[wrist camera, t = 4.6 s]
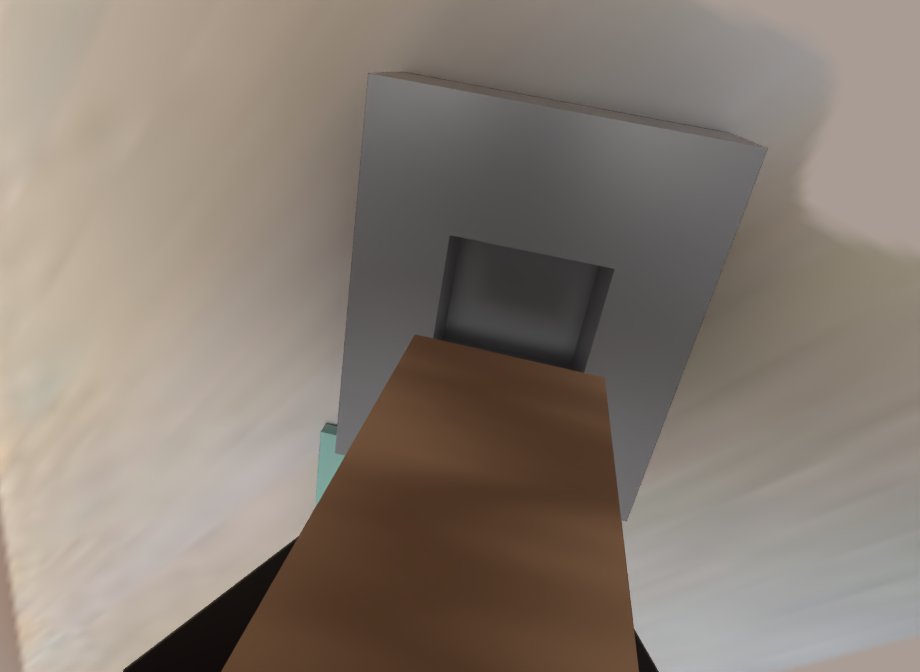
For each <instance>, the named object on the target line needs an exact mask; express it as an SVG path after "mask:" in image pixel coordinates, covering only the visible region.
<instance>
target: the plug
mask: <svg viewBox="0 0 920 672" xmlns="http://www.w3.org/2000/svg"><path fill="white" fill-rule="evenodd" d="M221 672H639V668H638V660H637V651H636V643H635V634H634V625H633V617H632V608H631V600H630V591H629V582H628V574H627V565H626V557H625V548H624V539H623V531H622V522H621V514H620V505H619V496H618V488H617V479H616V470H615V462H614V453H613V445H612V436H611V427H610V419H609V410H608V402H607V393H606V384H605V378H604V377H599V376H595V375H591V374H586V373H582V372H578V371H573V370H569V369H564V368H560V367H556V366H551V365H547V364H543V363H538V362H534V361H530V360H525V359H521V358H516V357H512V356H508V355H503V354H499V353H495V352H490V351H486V350H481V349H477V348H473V347H468V346H464V345H460V344H455V343H451V342H447V341H442V340H438V339H433V338H429V337H425V336H420V335H416V334H415V335H414V337H413V338H412V340H411V342H410V344H409V345H408V347H407V349H406V351H405V352H404V354H403V356H402V358H401V359H400V361H399V363H398V365H397V366H396V368H395V370H394V371H393V373H392V375H391V377H390V378H389V380H388V382H387V384H386V385H385V387H384V389H383V391H382V392H381V394H380V396H379V398H378V399H377V401H376V403H375V405H374V406H373V408H372V410H371V412H370V413H369V415H368V417H367V419H366V420H365V422H364V424H363V425H362V427H361V429H360V431H359V432H358V434H357V436H356V438H355V439H354V441H353V443H352V445H351V446H350V448H349V450H348V452H347V453H346V455H345V457H344V459H343V460H342V462H341V464H340V466H339V467H338V469H337V471H336V473H335V474H334V476H333V478H332V479H331V481H330V483H329V485H328V486H327V488H326V490H325V492H324V493H323V495H322V497H321V499H320V500H319V502H318V504H317V506H316V507H315V509H314V511H313V513H312V514H311V516H310V518H309V520H308V521H307V523H306V525H305V527H304V528H303V530H302V532H301V533H300V535H299V537H298V539H297V540H296V542H295V544H294V546H293V547H292V549H291V551H290V553H289V554H288V556H287V558H286V560H285V561H284V563H283V565H282V567H281V568H280V570H279V572H278V574H277V575H276V577H275V579H274V580H273V582H272V584H271V586H270V587H269V589H268V591H267V593H266V594H265V596H264V598H263V600H262V601H261V603H260V605H259V607H258V608H257V610H256V612H255V614H254V615H253V617H252V619H251V621H250V622H249V624H248V626H247V628H246V629H245V631H244V633H243V634H242V636H241V638H240V640H239V641H238V643H237V645H236V647H235V648H234V650H233V652H232V654H231V655H230V657H229V659H228V661H227V662H226V664H225V666H224V668H223V669H222V671H221Z"/></svg>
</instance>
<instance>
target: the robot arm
mask: <svg viewBox="0 0 920 672" xmlns="http://www.w3.org/2000/svg"><path fill="white" fill-rule="evenodd" d="M298 537H299V536H298ZM298 537H297V538H296V539H294V540H293V541H292V542H290V543H289V544H288V545H286V546H285V547H284V548H282V549H281V550H280V551H279V552H277V553H276V554H275V555H273V556H272V557H271V558H269V559H268V560H267V561H265V562H264V563H263V564H261V565H260V566H259V567H258V568H256V569H255V570H254V571H252V572H251V573H250V574H248V575H247V576H246V577H244V578H243V579H242V580H240V581H239V582H238V583H237V584H235V585H234V586H233V587H231V588H230V589H229V590H227V591H226V592H225V593H223V594H222V595H221V596H219V597H218V598H217V599H215V600H214V601H213V602H212V603H210V604H209V605H208V606H206V607H205V608H204V609H202V610H201V611H200V612H198V613H197V614H196V615H194V616H193V617H192V618H191V619H189V620H188V621H187V622H185V623H184V624H183V625H181V626H180V627H179V628H177V629H176V630H175V631H173V632H172V633H171V634H170V635H168V636H167V637H166V638H164V639H163V640H162V641H160V642H159V643H158V644H156V645H155V646H154V647H152V648H151V649H150V650H149V651H147V652H146V653H145V654H143V655H142V656H141V657H139V658H138V659H137V660H135V661H134V662H133V663H131V664H130V665H129V666H127V667H126V668H125V669H124V670H123V672H221V671H222V669H223V668H224V666H225V664H226V662H227V661H228V659H229V657H230V655H231V654H232V652H233V650H234V648H235V647H236V645H237V643H238V641H239V640H240V638H241V636H242V634H243V633H244V631H245V629H246V628H247V626H248V624H249V622H250V621H251V619H252V617H253V615H254V614H255V612H256V610H257V608H258V607H259V605H260V603H261V601H262V600H263V598H264V596H265V594H266V593H267V591H268V589H269V587H270V586H271V584H272V582H273V580H274V579H275V577H276V575H277V574H278V572H279V570H280V568H281V567H282V565H283V563H284V561H285V560H286V558H287V556H288V554H289V553H290V551H291V549H292V547H293V546H294V544H295V542H296V540H297V539H298ZM634 634H635V643H636V651H637V660H638V668H639V672H659V671H658V670H657V668H656V666H655V664H654V663H653V661H652V659H651V657H650V656H649V654H648V652H647V650H646V649H645V647H644V645H643V643H642V642H641V640H640V638H639V636H638V635H637V633H636V631H635V629H634Z"/></svg>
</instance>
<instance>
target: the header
mask: <svg viewBox="0 0 920 672" xmlns="http://www.w3.org/2000/svg"><path fill="white" fill-rule="evenodd" d="M767 150H768V148H766V147H763V146H761V145H758V144H756V143H753V142H751V141H749V140H746V139H744V138H741V137H739V136H736V135H734V134H731V133H727V132H722V131H716V130H711V129H706V128H700V127H695V126H690V125H684V124H679V123H673V122H668V121H663V120H657V119H652V118H647V117H641V116H636V115H631V114H625V113H620V112H615V111H609V110H604V109H599V108H593V107H588V106H583V105H577V104H572V103H567V102H561V101H556V100H551V99H545V98H540V97H535V96H529V95H524V94H519V93H513V92H508V91H502V90H497V89H492V88H486V87H481V86H476V85H470V84H465V83H460V82H454V81H449V80H444V79H438V78H433V77H428V76H422V75H417V74H412V73H406V72H383V73H368V81H367V92H366V104H365V115H364V127H363V138H362V149H361V161H360V172H359V184H358V195H357V206H356V218H355V229H354V241H353V252H352V263H351V275H350V286H349V298H348V309H347V320H346V332H345V343H344V355H343V366H342V377H341V389H340V400H339V412H338V423H337V435H336V446H335V453H336V454H340V455H346V453H347V452H348V450H349V448H350V446H351V445H352V443H353V441H354V439H355V438H356V436H357V434H358V432H359V431H360V429H361V427H362V425H363V424H364V422H365V420H366V419H367V417H368V415H369V413H370V412H371V410H372V408H373V406H374V405H375V403H376V401H377V399H378V398H379V396H380V394H381V392H382V391H383V389H384V387H385V385H386V384H387V382H388V380H389V378H390V377H391V375H392V373H393V371H394V370H395V368H396V366H397V365H398V363H399V361H400V359H401V358H402V356H403V354H404V352H405V351H406V349H407V347H408V345H409V344H410V342H411V340H412V338H413V337H414V335H415V334H416V335H420V336H425V337H429V338H433V339H438V340H442V341H447V342H451V343H455V344H460V345H464V346H468V347H473V348H477V349H481V350H486V351H490V352H495V353H499V354H503V355H508V356H512V357H516V358H521V359H525V360H530V361H534V362H538V363H543V364H547V365H551V366H556V367H560V368H564V369H569V370H573V371H578V372H582V373H586V374H591V375H595V376H599V377H604V378H605V384H606V393H607V402H608V410H609V419H610V427H611V436H612V445H613V453H614V462H615V470H616V479H617V488H618V496H619V505H620V514H621V520H623V521H627V519H628V516H629V514H630V511H631V508H632V506H633V503H634V500H635V498H636V495H637V492H638V490H639V487H640V485H641V482H642V479H643V477H644V474H645V471H646V469H647V466H648V463H649V461H650V458H651V456H652V453H653V450H654V448H655V445H656V442H657V440H658V437H659V434H660V432H661V429H662V427H663V424H664V421H665V419H666V416H667V413H668V411H669V408H670V405H671V403H672V400H673V398H674V395H675V392H676V390H677V387H678V384H679V382H680V379H681V376H682V374H683V371H684V369H685V366H686V363H687V361H688V358H689V355H690V353H691V350H692V347H693V345H694V342H695V339H696V337H697V334H698V332H699V329H700V326H701V324H702V321H703V318H704V316H705V313H706V310H707V308H708V305H709V303H710V300H711V297H712V295H713V292H714V289H715V287H716V284H717V281H718V279H719V276H720V274H721V271H722V268H723V266H724V263H725V260H726V258H727V255H728V252H729V250H730V247H731V245H732V242H733V239H734V237H735V234H736V231H737V229H738V226H739V223H740V221H741V218H742V216H743V213H744V210H745V208H746V205H747V202H748V200H749V197H750V194H751V192H752V189H753V187H754V184H755V181H756V179H757V176H758V173H759V171H760V168H761V165H762V163H763V160H764V157H765V155H766V152H767Z"/></svg>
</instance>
